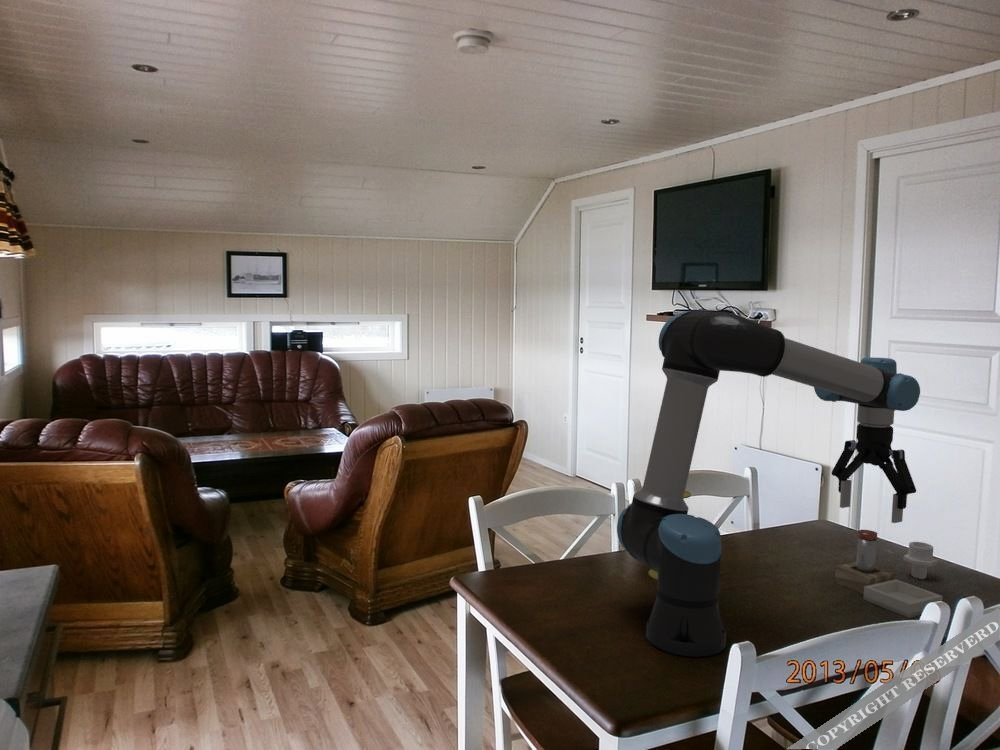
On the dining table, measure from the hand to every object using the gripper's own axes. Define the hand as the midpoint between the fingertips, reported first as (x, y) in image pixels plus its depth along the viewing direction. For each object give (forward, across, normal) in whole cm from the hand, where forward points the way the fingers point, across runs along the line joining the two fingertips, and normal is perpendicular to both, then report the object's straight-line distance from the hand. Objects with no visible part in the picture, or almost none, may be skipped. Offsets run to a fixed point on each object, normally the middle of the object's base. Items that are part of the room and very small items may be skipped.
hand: (869, 514), depth 174 cm
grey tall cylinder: (+17, 0, 0) cm, 17 cm away
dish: (+17, -11, +2) cm, 21 cm away
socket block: (+17, 0, 0) cm, 17 cm away
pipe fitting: (+18, -1, -18) cm, 25 cm away
